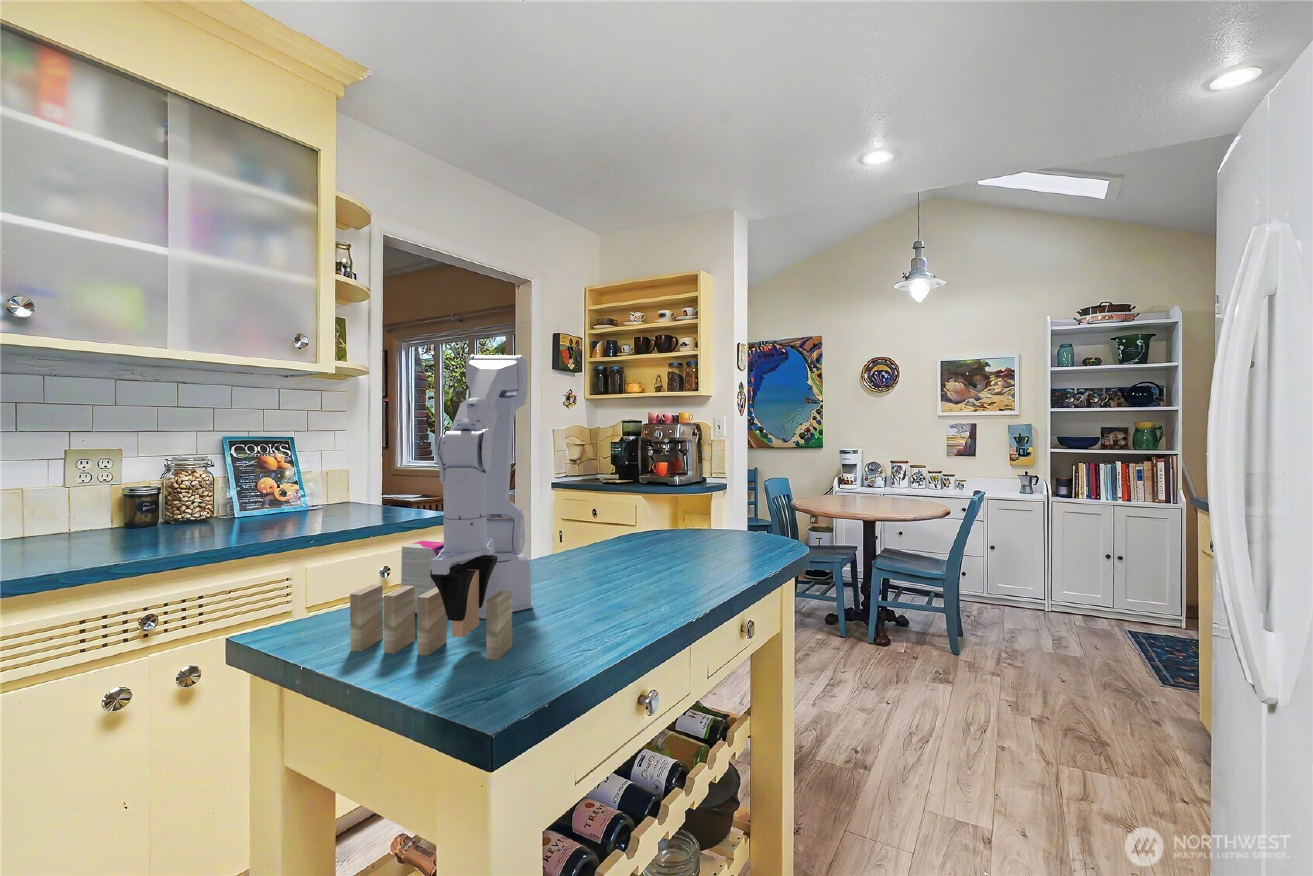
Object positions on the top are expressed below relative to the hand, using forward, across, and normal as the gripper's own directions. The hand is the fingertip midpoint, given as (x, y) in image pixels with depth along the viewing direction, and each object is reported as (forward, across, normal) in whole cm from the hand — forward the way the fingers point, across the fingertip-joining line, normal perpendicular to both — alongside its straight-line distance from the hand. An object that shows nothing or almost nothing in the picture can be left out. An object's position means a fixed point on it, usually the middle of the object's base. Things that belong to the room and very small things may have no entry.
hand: (465, 613), depth 81 cm
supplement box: (+5, +15, +15) cm, 22 cm away
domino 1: (+5, 0, +15) cm, 16 cm away
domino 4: (+2, 0, 0) cm, 2 cm away
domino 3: (+5, 0, +5) cm, 7 cm away
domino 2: (+5, 0, +10) cm, 11 cm away
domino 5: (+5, 0, -5) cm, 7 cm away
